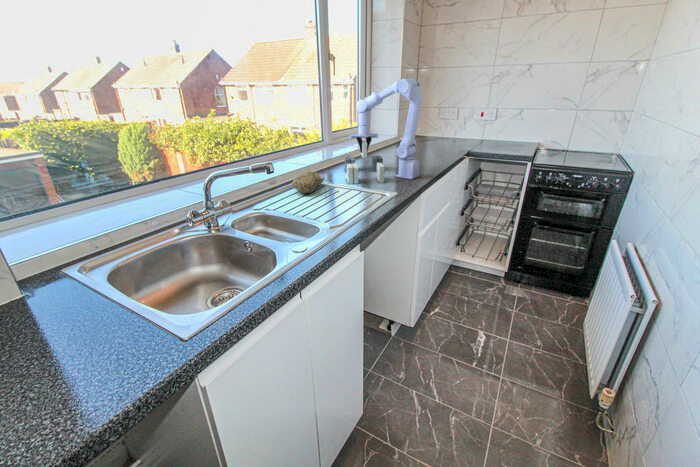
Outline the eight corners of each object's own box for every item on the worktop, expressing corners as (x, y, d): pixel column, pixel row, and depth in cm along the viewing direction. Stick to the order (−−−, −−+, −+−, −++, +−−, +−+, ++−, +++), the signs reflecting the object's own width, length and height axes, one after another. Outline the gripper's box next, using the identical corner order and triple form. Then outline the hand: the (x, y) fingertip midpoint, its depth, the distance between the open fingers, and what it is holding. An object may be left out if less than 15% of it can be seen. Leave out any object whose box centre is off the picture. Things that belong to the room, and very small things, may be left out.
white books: (381, 177, 162) (381, 162, 159) (384, 182, 154) (384, 166, 151) (347, 178, 161) (346, 163, 158) (348, 183, 153) (348, 167, 149)
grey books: (379, 167, 183) (380, 155, 181) (382, 170, 175) (382, 158, 172) (345, 168, 182) (344, 156, 179) (346, 172, 174) (346, 159, 171)
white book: (365, 154, 178) (365, 140, 175) (367, 157, 169) (367, 142, 166) (361, 154, 178) (360, 140, 175) (362, 157, 169) (362, 143, 166)
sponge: (305, 185, 156) (280, 187, 138) (309, 169, 153) (283, 169, 136) (329, 193, 151) (306, 196, 133) (333, 177, 149) (310, 178, 131)
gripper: (376, 124, 171) (376, 150, 177) (349, 124, 170) (349, 151, 176) (379, 125, 165) (378, 152, 170) (350, 126, 164) (350, 153, 169)
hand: (364, 152), depth 173 cm, fingers closed on white book, 2 cm apart
